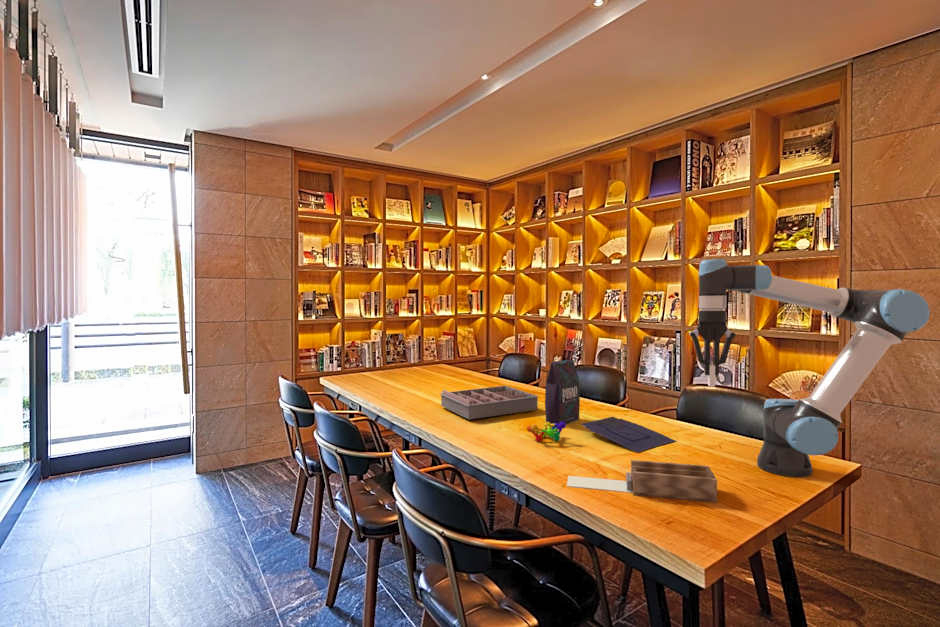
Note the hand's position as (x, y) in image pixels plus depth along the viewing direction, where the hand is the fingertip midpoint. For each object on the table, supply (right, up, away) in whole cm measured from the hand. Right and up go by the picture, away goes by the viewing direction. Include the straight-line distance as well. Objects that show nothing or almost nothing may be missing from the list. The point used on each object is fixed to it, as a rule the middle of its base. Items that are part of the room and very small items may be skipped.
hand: (711, 385), depth 148 cm
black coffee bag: (-33, -27, +69) cm, 81 cm away
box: (-16, -30, -7) cm, 34 cm away
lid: (-35, -31, -2) cm, 47 cm away
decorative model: (-44, -29, +43) cm, 68 cm away
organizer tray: (-65, -27, +93) cm, 117 cm away
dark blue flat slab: (-12, -28, +45) cm, 54 cm away
